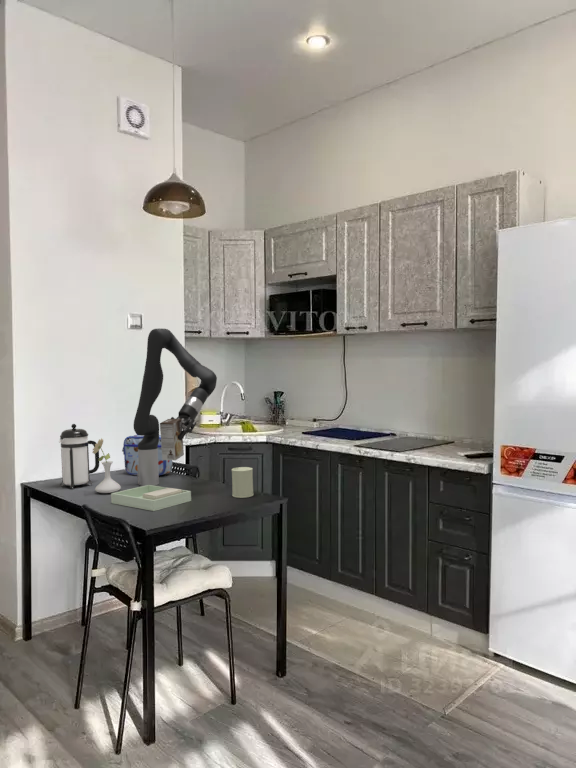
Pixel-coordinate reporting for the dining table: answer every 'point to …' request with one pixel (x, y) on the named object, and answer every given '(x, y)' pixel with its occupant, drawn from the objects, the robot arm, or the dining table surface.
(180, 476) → the dining table surface
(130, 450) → the lunch box
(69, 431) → the coffee press
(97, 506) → the dining table surface
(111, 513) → the dining table surface
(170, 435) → the coffee box
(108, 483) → the flower in vase
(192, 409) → the robot arm
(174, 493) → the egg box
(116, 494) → the tray
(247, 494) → the can
